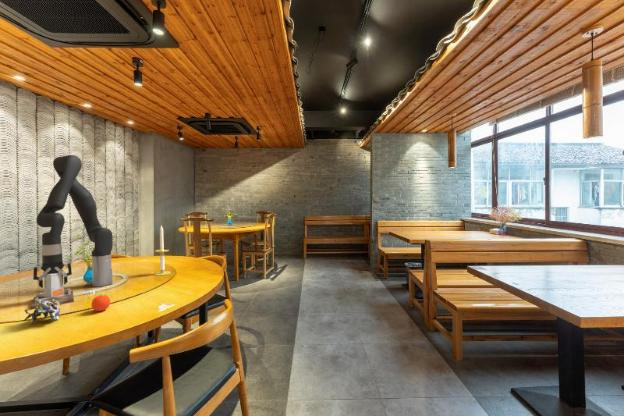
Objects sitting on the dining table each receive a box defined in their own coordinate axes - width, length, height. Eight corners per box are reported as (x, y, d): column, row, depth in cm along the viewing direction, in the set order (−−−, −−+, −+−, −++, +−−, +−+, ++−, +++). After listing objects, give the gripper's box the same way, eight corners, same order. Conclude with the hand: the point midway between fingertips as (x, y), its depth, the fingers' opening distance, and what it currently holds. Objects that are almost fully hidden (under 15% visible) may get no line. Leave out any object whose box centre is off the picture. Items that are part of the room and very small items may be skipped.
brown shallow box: (72, 292, 156) (72, 287, 156) (73, 301, 142) (73, 296, 142) (34, 299, 146) (33, 293, 146) (31, 309, 132) (30, 303, 132)
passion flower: (56, 333, 121) (63, 313, 117) (19, 337, 113) (26, 315, 109) (57, 311, 128) (64, 291, 124) (22, 313, 120) (28, 292, 116)
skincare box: (51, 299, 143) (50, 274, 142) (44, 298, 143) (43, 274, 143) (64, 295, 148) (63, 271, 148) (57, 294, 149) (56, 271, 149)
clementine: (110, 305, 136) (110, 290, 136) (115, 309, 132) (115, 293, 131) (89, 311, 130) (89, 295, 130) (94, 314, 126) (93, 298, 125)
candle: (168, 270, 202) (167, 223, 201) (172, 273, 195) (171, 224, 193) (152, 273, 196) (151, 224, 195) (156, 276, 188) (154, 225, 187)
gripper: (70, 250, 152) (71, 281, 153) (32, 254, 143) (34, 287, 144) (71, 252, 147) (72, 284, 147) (31, 256, 137) (33, 290, 138)
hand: (53, 285), depth 146 cm, fingers open, 8 cm apart
